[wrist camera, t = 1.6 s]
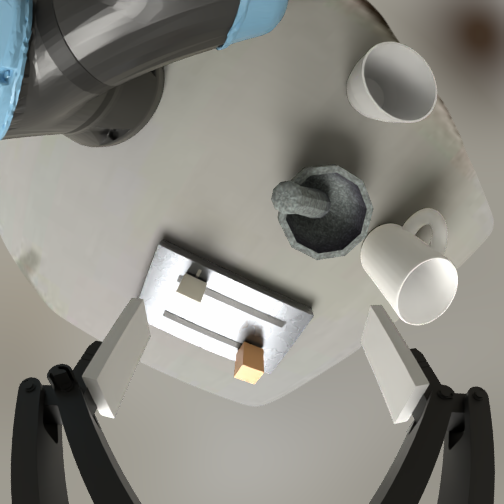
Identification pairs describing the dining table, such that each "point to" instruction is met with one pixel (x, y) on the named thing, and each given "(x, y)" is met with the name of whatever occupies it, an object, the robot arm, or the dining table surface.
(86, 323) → the dining table surface
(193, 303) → the fader
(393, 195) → the dining table surface
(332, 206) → the mortar and pestle
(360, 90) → the cup
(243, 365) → the fader
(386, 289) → the mug
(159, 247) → the console
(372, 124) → the dining table surface
